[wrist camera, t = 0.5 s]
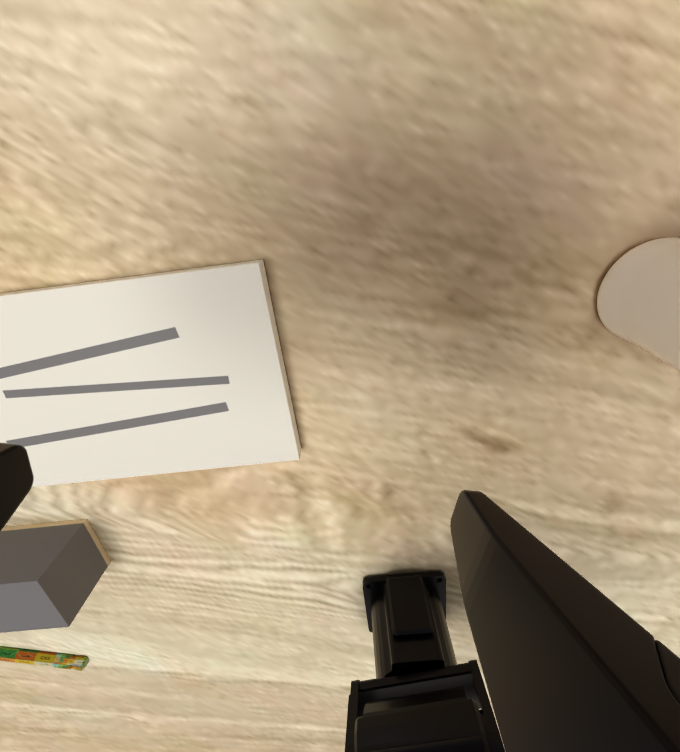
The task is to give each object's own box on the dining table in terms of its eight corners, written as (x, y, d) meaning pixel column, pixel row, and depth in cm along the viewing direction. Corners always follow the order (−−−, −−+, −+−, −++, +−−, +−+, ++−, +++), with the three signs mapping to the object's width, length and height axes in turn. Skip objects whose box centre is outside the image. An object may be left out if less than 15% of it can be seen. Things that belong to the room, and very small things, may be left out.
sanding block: (111, 560, 29) (69, 626, 24) (26, 568, 29) (-32, 635, 25) (87, 517, 27) (36, 580, 22) (-3, 526, 27) (-72, 590, 23)
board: (301, 448, 24) (299, 459, 23) (12, 478, 25) (-3, 490, 24) (263, 259, 19) (258, 262, 18) (-97, 306, 20) (-122, 311, 19)
